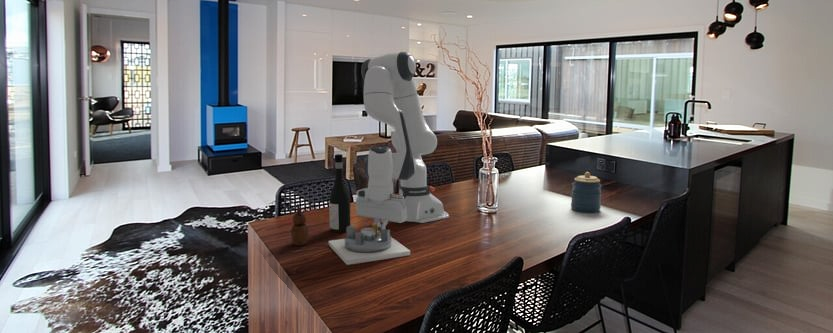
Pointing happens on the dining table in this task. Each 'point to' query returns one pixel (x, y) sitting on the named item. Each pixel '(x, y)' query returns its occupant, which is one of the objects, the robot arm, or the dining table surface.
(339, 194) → the wine bottle
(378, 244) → the lathe chuck
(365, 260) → the base plate
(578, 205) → the canister
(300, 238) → the wooden figurine
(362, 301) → the dining table surface
